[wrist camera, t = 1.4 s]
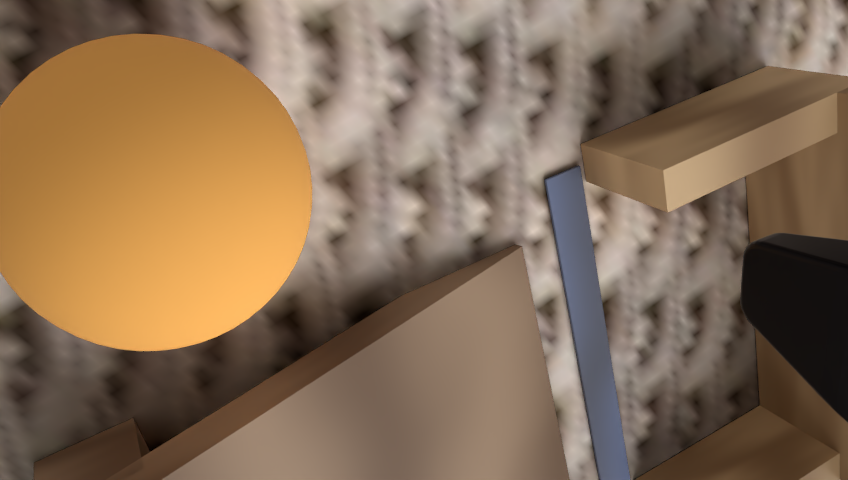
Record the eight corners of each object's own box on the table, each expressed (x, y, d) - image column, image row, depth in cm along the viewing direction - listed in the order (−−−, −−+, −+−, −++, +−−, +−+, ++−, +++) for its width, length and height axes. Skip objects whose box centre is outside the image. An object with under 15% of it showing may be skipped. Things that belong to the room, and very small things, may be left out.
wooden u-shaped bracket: (607, 522, 28) (708, 621, 24) (540, 160, 22) (660, 205, 18) (783, 415, 31) (903, 486, 27) (767, 66, 25) (919, 85, 20)
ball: (60, 325, 18) (68, 469, 13) (-70, 74, 15) (-128, 126, 10) (300, 229, 20) (392, 320, 14) (220, -10, 17) (296, -2, 12)
